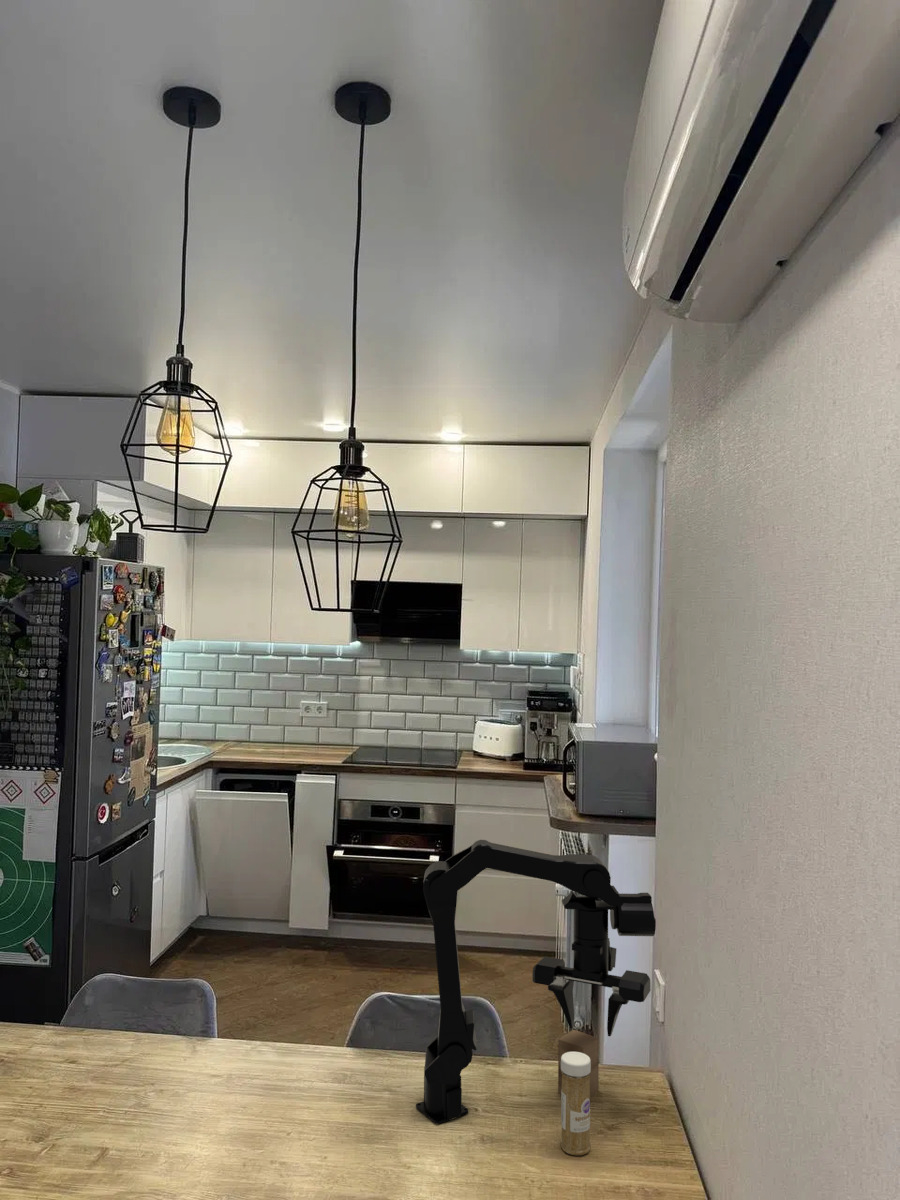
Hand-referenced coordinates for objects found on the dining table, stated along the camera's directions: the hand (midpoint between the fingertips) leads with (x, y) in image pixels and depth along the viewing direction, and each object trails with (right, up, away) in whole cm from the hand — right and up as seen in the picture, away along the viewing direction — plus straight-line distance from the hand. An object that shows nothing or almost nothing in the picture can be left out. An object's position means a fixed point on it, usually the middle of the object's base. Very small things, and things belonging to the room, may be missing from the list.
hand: (590, 1031), depth 140 cm
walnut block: (-1, -14, +6) cm, 15 cm away
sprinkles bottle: (-4, -12, -11) cm, 17 cm away
